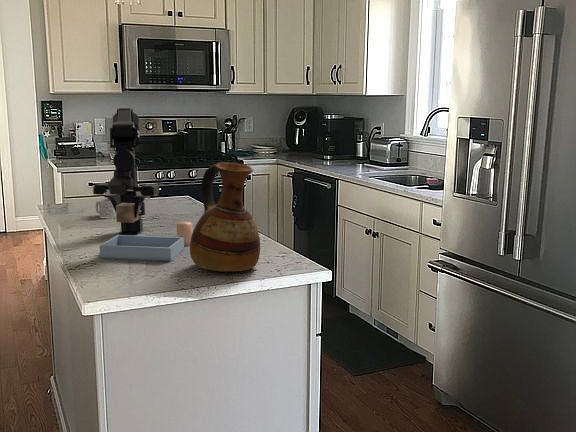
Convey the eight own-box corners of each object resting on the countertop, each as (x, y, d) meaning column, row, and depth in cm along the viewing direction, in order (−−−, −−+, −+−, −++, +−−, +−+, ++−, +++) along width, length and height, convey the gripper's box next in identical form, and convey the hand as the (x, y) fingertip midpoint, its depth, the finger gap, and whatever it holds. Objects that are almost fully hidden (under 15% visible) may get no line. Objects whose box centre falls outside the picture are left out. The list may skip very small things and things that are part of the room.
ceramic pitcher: (233, 282, 166) (231, 169, 160) (175, 270, 176) (171, 163, 170) (274, 265, 182) (274, 161, 176) (218, 255, 192) (217, 156, 186)
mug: (121, 216, 248) (120, 199, 247) (107, 219, 242) (107, 202, 241) (103, 213, 253) (102, 197, 252) (90, 216, 248) (89, 199, 246)
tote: (100, 258, 188) (99, 245, 187) (117, 247, 201) (117, 234, 200) (170, 261, 185) (170, 248, 184) (184, 249, 198) (183, 237, 198)
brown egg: (175, 245, 204) (174, 224, 202) (179, 241, 208) (179, 221, 207) (190, 246, 203) (189, 224, 202) (194, 242, 208) (194, 221, 206)
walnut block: (116, 222, 190) (115, 205, 189) (123, 218, 194) (122, 202, 193) (132, 222, 189) (132, 206, 188) (138, 219, 194) (138, 203, 193)
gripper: (83, 168, 182) (86, 222, 185) (146, 170, 179) (148, 224, 183) (99, 164, 192) (102, 214, 196) (159, 165, 190) (160, 216, 193)
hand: (127, 217), depth 191 cm, fingers closed on walnut block, 5 cm apart
